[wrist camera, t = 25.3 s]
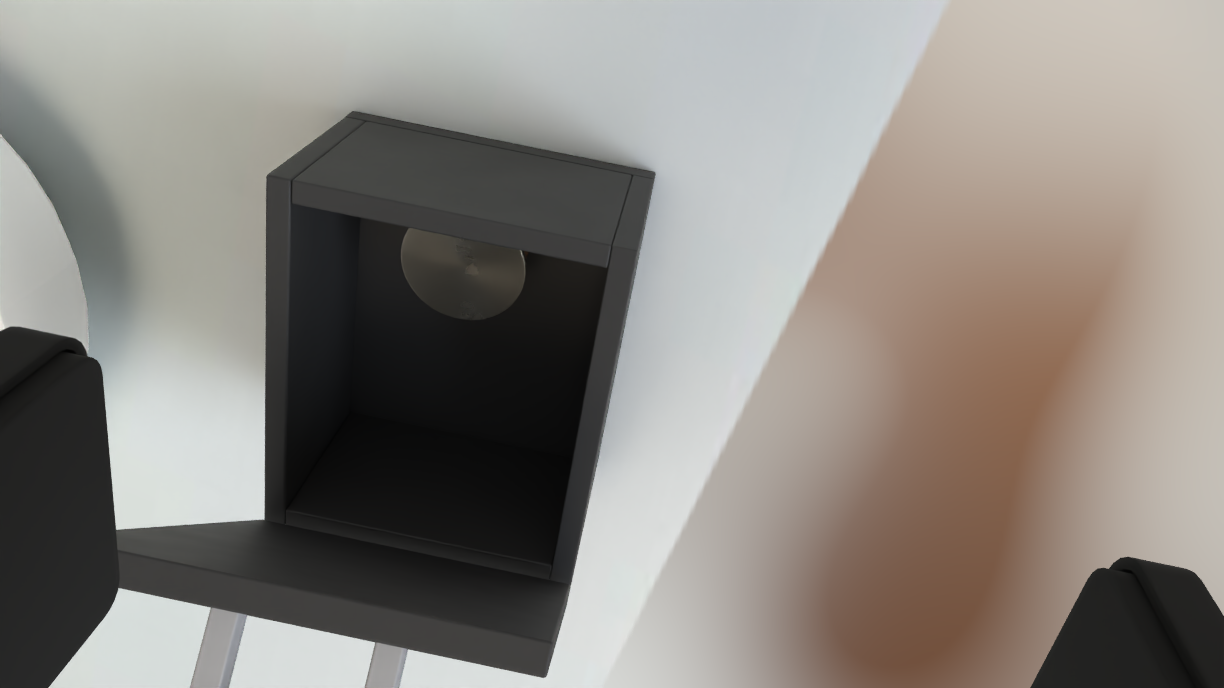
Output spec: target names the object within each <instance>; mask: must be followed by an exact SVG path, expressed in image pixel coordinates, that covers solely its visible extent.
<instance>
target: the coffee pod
mask: <svg viewBox="0 0 1224 688" xmlns="http://www.w3.org/2000/svg"><path fill="white" fill-rule="evenodd" d="M528 253H529V252H526V251H521V250H516V249H511V248H506V247H501V246H496V245H491V244H486V243H482V242H477V241H472V240H467V239H462V238H457V237H452V236H447V235H442V234H438V233H433V232H428V231H423V230H418V229H413V228H408V230H407V232H406V233H405V235H404V238H403V241H402V245H401V265H402V269H403V273H404V275H405V278H406V280H407V282H408V283H409V285H410V287H411V288H412V290H413V291H414V292H415V294H416V295H417V296H418V297H419V298H420V299H421V300H422V301H423V302H424V303H426V304H427V305H428V306H430V307H431V308H433V309H434V310H436V311H438V312H440V313H442V314H444V315H447V316H450V317H453V318H457V319H462V320H481V319H486V318H490V317H493V316H495V315H498V314H500V313H502V312H503V311H505V310H506V309H508V308H509V307H510V306H511V305H512V304H513V303H514V302H515V301H516V300H517V298H518V296H519V295H520V293H521V291H522V289H523V286H524V284H525V280H526V275H527V261H526V257H527V255H528Z"/></svg>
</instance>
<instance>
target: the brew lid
mask: <svg viewBox="0 0 1224 688" xmlns="http://www.w3.org/2000/svg"><path fill="white" fill-rule="evenodd" d="M116 537H117V549H118V560H119V572H120V580H119V587H118V588H122V589H126V590H131V591H136V592H141V593H145V594H150V595H155V596H159V597H164V598H169V599H174V600H178V601H183V602H188V603H193V604H197V605H202V606H207V607H211V610H210V613H209V617H208V621H207V625H206V629H205V632H204V636H203V640H202V644H201V648H200V652H199V655H198V659H197V663H196V667H195V671H194V675H193V678H192V682H191V686H190V688H229V684H230V680H231V676H232V673H233V669H234V665H235V661H236V657H237V653H238V649H239V645H240V641H241V637H242V633H243V629H244V626H245V622H246V618H247V615H249V616H254V617H259V618H263V619H268V620H273V621H278V622H282V623H287V624H292V625H296V626H301V627H306V628H311V629H315V630H320V631H325V632H329V633H334V634H339V635H344V636H348V637H353V638H358V639H363V640H367V641H372V642H375V646H374V651H373V655H372V659H371V663H370V668H369V672H368V676H367V680H366V685H365V688H399V686H400V682H401V677H402V673H403V669H404V664H405V660H406V656H407V651H408V649H410V650H414V651H419V652H424V653H429V654H433V655H438V656H443V657H448V658H452V659H457V660H462V661H466V662H471V663H476V664H481V665H485V666H490V667H495V668H499V669H504V670H509V671H514V672H518V673H523V674H528V675H532V676H537V677H542V678H545V677H546V676H547V673H548V669H549V666H550V662H551V659H552V655H553V652H554V648H555V645H556V641H557V637H558V634H559V630H560V627H561V623H562V620H563V616H564V613H565V609H566V605H567V601H568V596H569V591H570V584H566V583H561V582H557V581H552V580H547V579H542V578H538V577H533V576H528V575H523V574H519V573H514V572H509V571H504V570H500V569H495V568H490V567H485V566H481V565H476V564H471V563H466V562H461V561H457V560H452V559H447V558H442V557H438V556H433V555H428V554H423V553H419V552H414V551H409V550H404V549H400V548H395V547H390V546H385V545H381V544H376V543H371V542H366V541H362V540H357V539H352V538H347V537H342V536H338V535H333V534H328V533H323V532H319V531H314V530H309V529H304V528H300V527H295V526H290V525H285V524H281V523H276V522H271V521H266V520H251V521H237V522H222V523H208V524H194V525H180V526H165V527H151V528H137V529H122V530H116Z"/></svg>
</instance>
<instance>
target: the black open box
mask: <svg viewBox="0 0 1224 688" xmlns="http://www.w3.org/2000/svg"><path fill="white" fill-rule="evenodd" d="M654 179H655V172H650V171H645V170H640V169H635V168H630V167H625V166H620V165H615V164H611V163H606V162H601V161H596V160H591V159H586V158H581V157H576V156H571V155H566V154H561V153H556V152H551V151H546V150H542V149H537V148H532V147H527V146H522V145H517V144H512V143H507V142H502V141H497V140H492V139H487V138H482V137H477V136H472V135H468V134H463V133H458V132H453V131H448V130H443V129H438V128H433V127H428V126H423V125H418V124H413V123H408V122H403V121H399V120H394V119H389V118H384V117H379V116H374V115H369V114H364V113H359V112H354V111H353V112H351V113H350V114H348V115H347V116H346V118H344V119H343V120H341V121H340V122H338V123H337V124H336V125H334V126H333V127H332V128H330V129H329V130H328V131H326V132H325V133H324V134H322V135H321V136H320V137H318V138H317V139H315V140H314V141H313V142H311V143H310V144H309V145H307V146H306V147H305V148H303V149H302V150H301V151H299V152H298V153H296V154H295V155H294V156H292V157H291V158H290V159H288V160H287V161H286V162H284V163H283V164H282V165H280V166H279V167H278V168H276V169H275V170H273V171H272V172H271V173H269V174H268V175H267V186H266V374H265V520H266V521H271V522H276V523H281V524H286V525H290V526H295V527H300V528H304V529H309V530H314V531H319V532H323V533H328V534H333V535H338V536H342V537H347V538H352V539H357V540H362V541H366V542H371V543H376V544H381V545H385V546H390V547H395V548H400V549H404V550H409V551H414V552H419V553H423V554H428V555H433V556H438V557H442V558H447V559H452V560H457V561H461V562H466V563H471V564H476V565H481V566H485V567H490V568H495V569H500V570H504V571H509V572H514V573H519V574H523V575H528V576H533V577H538V578H542V579H547V580H552V581H557V582H561V583H566V584H570V585H571V582H572V577H573V573H574V568H575V564H576V559H577V554H578V550H579V545H580V541H581V536H582V531H583V527H584V522H585V517H586V513H587V508H588V504H589V499H590V494H591V490H592V485H593V480H594V476H595V471H596V467H597V462H598V457H599V452H600V447H601V442H602V437H603V432H604V427H605V422H606V417H607V412H608V407H609V402H610V397H611V392H612V387H613V382H614V377H615V373H616V368H617V363H618V358H619V353H620V348H621V343H622V338H623V333H624V328H625V323H626V318H627V313H628V308H629V303H630V298H631V293H632V288H633V283H634V278H635V273H636V268H637V264H638V259H639V254H640V249H641V244H642V239H643V234H644V229H645V224H646V219H647V214H648V209H649V204H650V199H651V194H652V189H653V184H654ZM408 228H413V229H418V230H423V231H428V232H433V233H438V234H442V235H447V236H452V237H457V238H462V239H467V240H472V241H477V242H482V243H486V244H491V245H496V246H501V247H506V248H511V249H516V250H521V251H526V252H529V253H528V255H527V257H526V261H527V275H526V280H525V284H524V286H523V289H522V291H521V293H520V295H519V296H518V298H517V300H516V301H515V302H514V303H513V304H512V305H511V306H510V307H509V308H508V309H506V310H505V311H503V312H502V313H500V314H498V315H495V316H493V317H490V318H486V319H481V320H462V319H457V318H453V317H450V316H447V315H444V314H442V313H440V312H438V311H436V310H434V309H433V308H431V307H430V306H428V305H427V304H426V303H424V302H423V301H422V300H421V299H420V298H419V297H418V296H417V295H416V294H415V292H414V291H413V290H412V288H411V287H410V285H409V283H408V282H407V280H406V278H405V275H404V273H403V269H402V265H401V245H402V241H403V238H404V235H405V233H406V232H407V230H408Z"/></svg>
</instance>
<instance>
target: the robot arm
mask: <svg viewBox="0 0 1224 688" xmlns="http://www.w3.org/2000/svg"><path fill="white" fill-rule="evenodd" d="M119 580H120V572H119V560H118V549H117V537H116V525H115V514H114V502H113V491H112V479H111V468H110V456H109V444H108V433H107V421H106V410H105V398H104V386H103V375H102V370H101V366H100V364H99V363H98V361H97V360H95V359H94V358H92V357H88V356H87V352H86V349H85V347H84V346H83V344H82V342H80V341H79V340H77V339H75V338H72V337H67V336H62V335H58V334H53V333H48V332H43V331H38V330H33V329H29V328H24V327H16V326H10V327H8V328H6V329H3V330H1V331H0V688H48V687H49V686H50V685H51V684H52V682H53V681H54V680H55V679H56V677H57V676H58V675H59V674H60V672H61V671H62V670H63V669H64V667H65V666H66V665H67V664H68V662H69V661H70V660H71V659H72V657H73V656H74V655H75V654H76V652H77V651H78V650H79V649H80V647H81V646H82V645H83V644H84V642H85V641H86V640H87V639H88V637H89V636H90V635H91V634H92V632H93V631H94V630H95V629H96V627H97V626H98V625H99V624H100V622H101V621H102V620H103V619H104V617H105V616H106V614H107V613H108V611H109V610H110V608H111V606H112V604H113V602H114V600H115V597H116V594H117V591H118V587H119ZM1031 688H1224V616H1223V614H1222V613H1221V611H1220V609H1219V608H1218V606H1217V604H1216V603H1215V601H1214V600H1213V599H1212V596H1211V595H1210V593H1209V592H1208V590H1207V588H1206V587H1205V585H1204V584H1203V582H1202V581H1201V580H1200V578H1199V577H1198V576H1197V575H1196V574H1195V573H1194V572H1192V571H1190V570H1188V569H1184V568H1179V567H1175V566H1170V565H1164V564H1160V563H1155V562H1150V561H1146V560H1141V559H1136V558H1131V557H1124V558H1120V559H1119V560H1117V561H1116V562H1114V563H1113V564H1112V566H1111V567H1110V568H1109V569H1106V568H1100V569H1097V570H1095V571H1094V572H1093V573H1092V574H1091V576H1090V577H1089V578H1088V580H1087V582H1086V584H1085V586H1084V587H1083V589H1082V591H1081V593H1080V595H1079V597H1078V599H1077V601H1076V602H1075V604H1074V606H1073V608H1072V610H1071V612H1070V614H1069V616H1068V618H1067V619H1066V621H1065V623H1064V625H1063V627H1062V629H1061V631H1060V633H1059V635H1058V637H1057V639H1056V640H1055V642H1054V644H1053V646H1052V648H1051V650H1050V652H1049V654H1048V655H1047V657H1046V659H1045V661H1044V663H1043V665H1042V667H1041V669H1040V671H1039V672H1038V674H1037V676H1036V678H1035V680H1034V682H1033V684H1032V686H1031Z"/></svg>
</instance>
